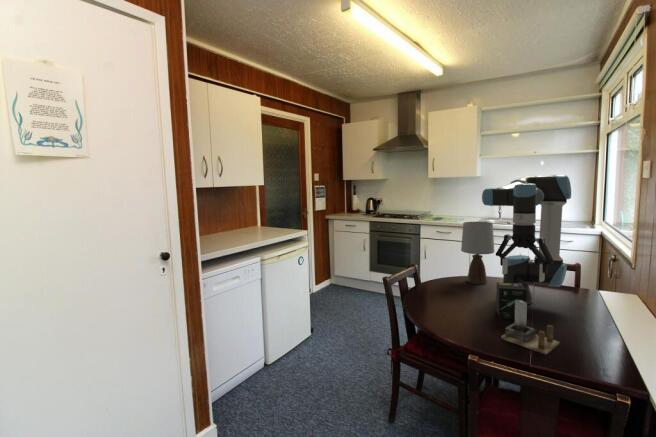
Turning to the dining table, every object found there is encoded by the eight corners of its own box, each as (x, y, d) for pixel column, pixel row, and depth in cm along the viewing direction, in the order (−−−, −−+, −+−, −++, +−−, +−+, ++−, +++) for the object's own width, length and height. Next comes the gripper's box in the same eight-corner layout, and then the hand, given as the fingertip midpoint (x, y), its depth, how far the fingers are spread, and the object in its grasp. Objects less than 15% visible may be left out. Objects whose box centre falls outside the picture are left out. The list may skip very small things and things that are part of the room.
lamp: (500, 284, 197) (502, 223, 193) (475, 288, 191) (476, 226, 187) (478, 276, 214) (478, 220, 210) (454, 279, 209) (454, 222, 205)
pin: (512, 335, 130) (513, 301, 129) (517, 332, 133) (518, 299, 131) (523, 339, 127) (524, 304, 126) (527, 336, 130) (528, 302, 128)
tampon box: (521, 313, 154) (522, 283, 152) (526, 321, 145) (527, 289, 144) (495, 311, 157) (496, 281, 156) (498, 318, 149) (499, 287, 147)
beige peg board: (501, 338, 130) (501, 321, 129) (515, 329, 137) (515, 313, 136) (546, 354, 117) (547, 336, 117) (559, 344, 124) (560, 326, 124)
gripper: (487, 222, 134) (486, 272, 136) (557, 227, 114) (555, 286, 116) (496, 220, 138) (495, 269, 140) (565, 225, 118) (563, 282, 120)
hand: (522, 277), depth 128 cm, fingers open, 13 cm apart
